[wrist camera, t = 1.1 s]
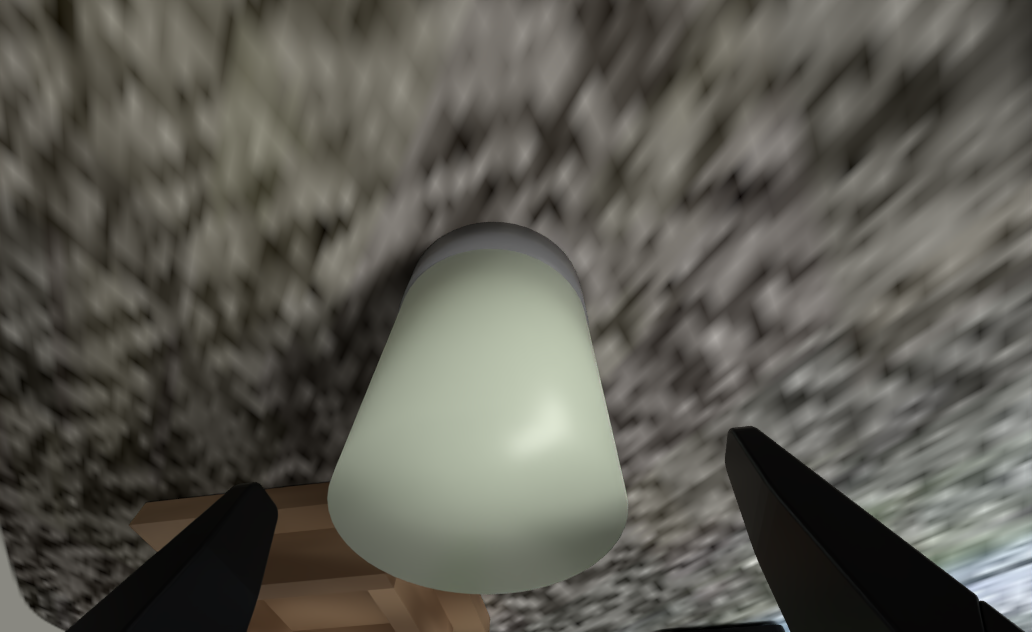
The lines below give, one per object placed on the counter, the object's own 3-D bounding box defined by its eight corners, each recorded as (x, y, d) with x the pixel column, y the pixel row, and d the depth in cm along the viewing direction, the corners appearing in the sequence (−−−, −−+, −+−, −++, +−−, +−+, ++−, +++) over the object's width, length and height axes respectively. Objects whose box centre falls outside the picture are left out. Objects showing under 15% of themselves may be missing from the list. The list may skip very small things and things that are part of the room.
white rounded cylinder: (588, 359, 15) (635, 584, 9) (434, 378, 15) (382, 605, 9) (572, 207, 12) (625, 388, 6) (385, 237, 12) (268, 431, 7)
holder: (489, 617, 24) (486, 687, 22) (276, 634, 25) (249, 703, 23) (428, 471, 18) (414, 546, 15) (145, 502, 19) (88, 577, 16)
